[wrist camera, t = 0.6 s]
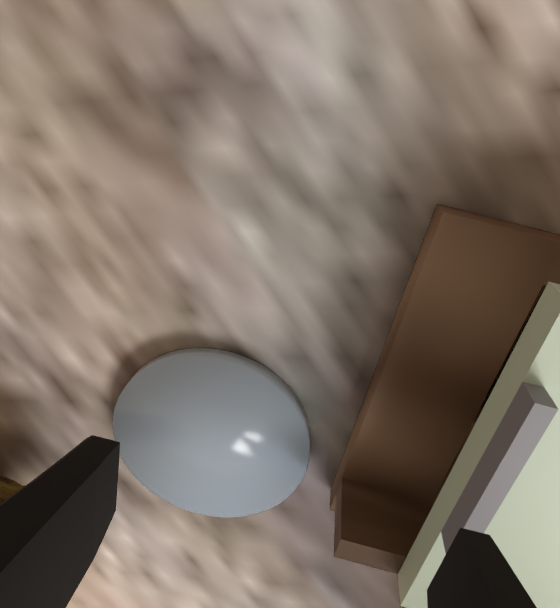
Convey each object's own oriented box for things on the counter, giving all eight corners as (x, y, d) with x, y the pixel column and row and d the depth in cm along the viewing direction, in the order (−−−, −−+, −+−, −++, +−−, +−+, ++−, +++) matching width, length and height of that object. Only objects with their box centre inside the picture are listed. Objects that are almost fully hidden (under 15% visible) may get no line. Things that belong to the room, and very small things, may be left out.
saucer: (285, 523, 24) (284, 537, 23) (113, 476, 24) (106, 488, 23) (333, 378, 20) (333, 389, 19) (128, 324, 20) (119, 333, 20)
